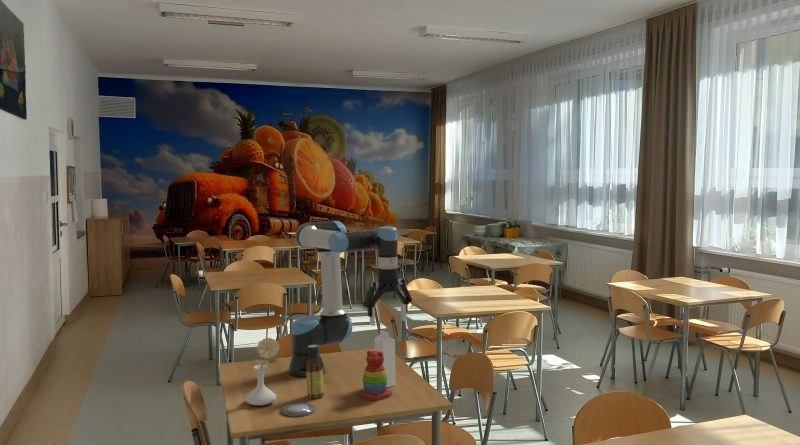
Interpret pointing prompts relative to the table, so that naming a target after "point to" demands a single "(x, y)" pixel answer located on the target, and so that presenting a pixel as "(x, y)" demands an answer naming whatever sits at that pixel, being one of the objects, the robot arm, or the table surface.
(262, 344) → the flower in vase
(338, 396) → the table surface
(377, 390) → the stacking bear
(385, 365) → the milk
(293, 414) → the coaster
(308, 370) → the sauce bottle
